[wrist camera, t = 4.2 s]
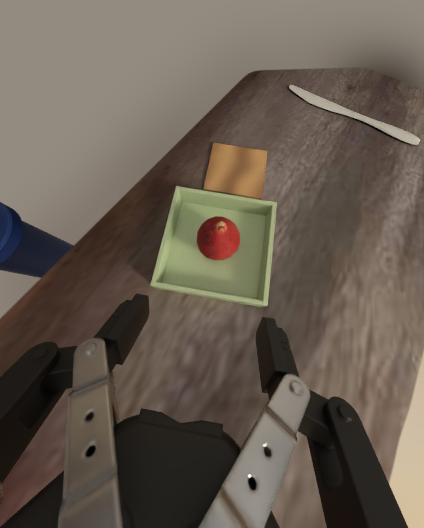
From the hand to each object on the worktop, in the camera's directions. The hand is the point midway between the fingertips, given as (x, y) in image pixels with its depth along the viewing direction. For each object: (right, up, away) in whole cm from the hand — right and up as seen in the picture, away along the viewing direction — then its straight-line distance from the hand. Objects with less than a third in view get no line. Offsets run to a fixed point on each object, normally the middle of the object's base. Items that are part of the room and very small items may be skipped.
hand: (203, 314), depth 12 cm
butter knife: (+28, +33, +23) cm, 49 cm away
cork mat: (+5, +20, +19) cm, 28 cm away
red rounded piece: (+1, +6, +15) cm, 16 cm away
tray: (+1, +6, +15) cm, 17 cm away
